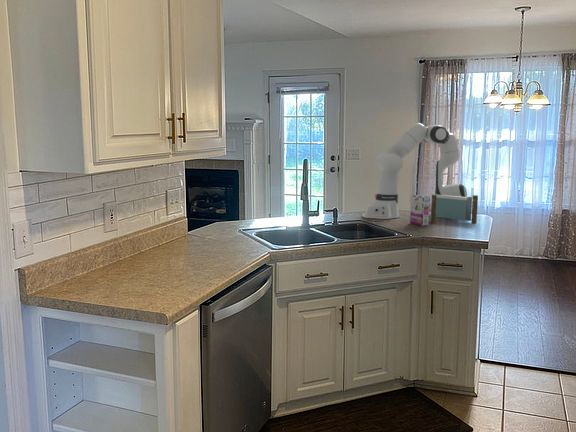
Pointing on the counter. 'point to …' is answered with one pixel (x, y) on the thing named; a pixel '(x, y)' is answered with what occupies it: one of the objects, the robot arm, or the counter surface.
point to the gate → (453, 207)
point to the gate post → (474, 209)
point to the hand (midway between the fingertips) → (448, 210)
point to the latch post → (433, 209)
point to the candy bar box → (420, 210)
